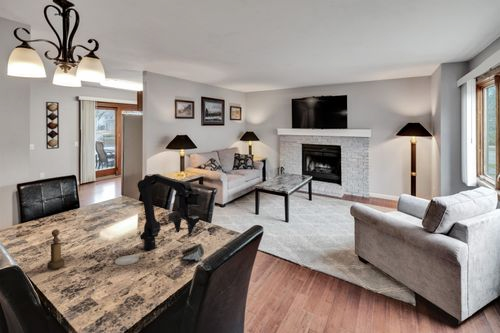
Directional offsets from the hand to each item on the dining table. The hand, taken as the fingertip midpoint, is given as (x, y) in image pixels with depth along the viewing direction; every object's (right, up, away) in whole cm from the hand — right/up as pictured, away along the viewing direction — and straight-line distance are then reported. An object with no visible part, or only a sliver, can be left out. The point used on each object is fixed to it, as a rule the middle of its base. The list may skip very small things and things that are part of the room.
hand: (183, 233), depth 135 cm
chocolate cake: (+2, -14, -4) cm, 15 cm away
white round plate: (-27, -12, -7) cm, 31 cm away
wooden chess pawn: (-59, -13, -13) cm, 62 cm away
